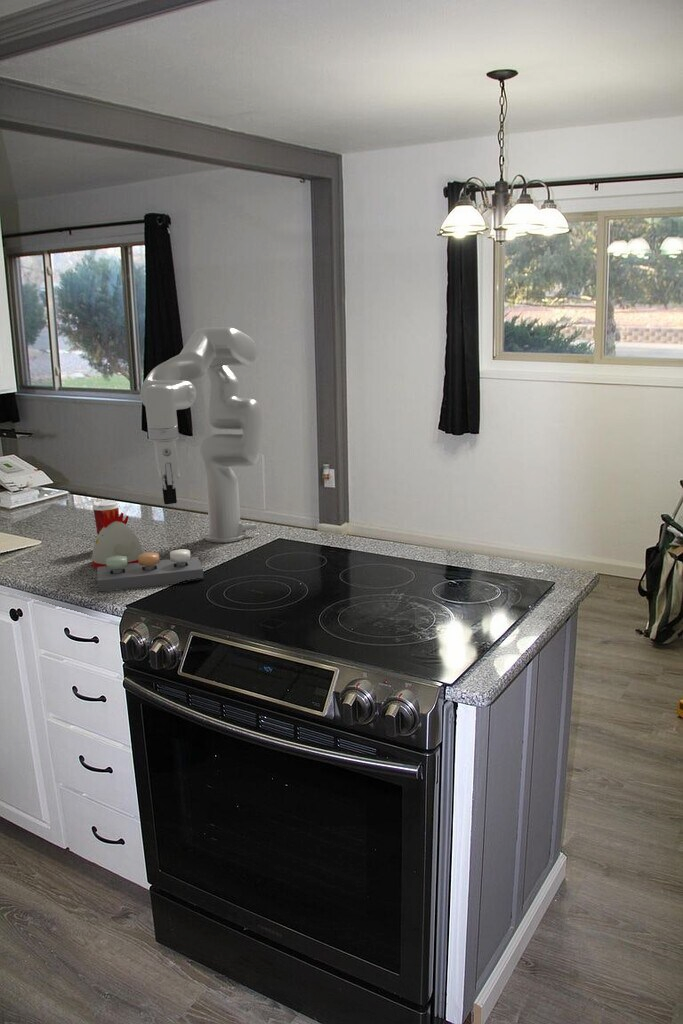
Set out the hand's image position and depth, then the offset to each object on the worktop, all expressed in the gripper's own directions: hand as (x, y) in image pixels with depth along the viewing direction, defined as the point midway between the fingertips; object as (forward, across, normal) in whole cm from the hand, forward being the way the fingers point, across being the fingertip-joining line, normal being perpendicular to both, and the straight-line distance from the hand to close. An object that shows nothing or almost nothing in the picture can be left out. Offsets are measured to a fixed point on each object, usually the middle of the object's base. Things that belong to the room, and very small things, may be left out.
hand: (170, 502), depth 221 cm
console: (+18, -4, +7) cm, 20 cm away
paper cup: (+20, +30, +16) cm, 39 cm away
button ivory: (+17, -4, -1) cm, 18 cm away
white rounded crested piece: (+19, +15, +15) cm, 28 cm away
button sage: (+17, -4, +15) cm, 23 cm away
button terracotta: (+17, -4, +7) cm, 19 cm away
